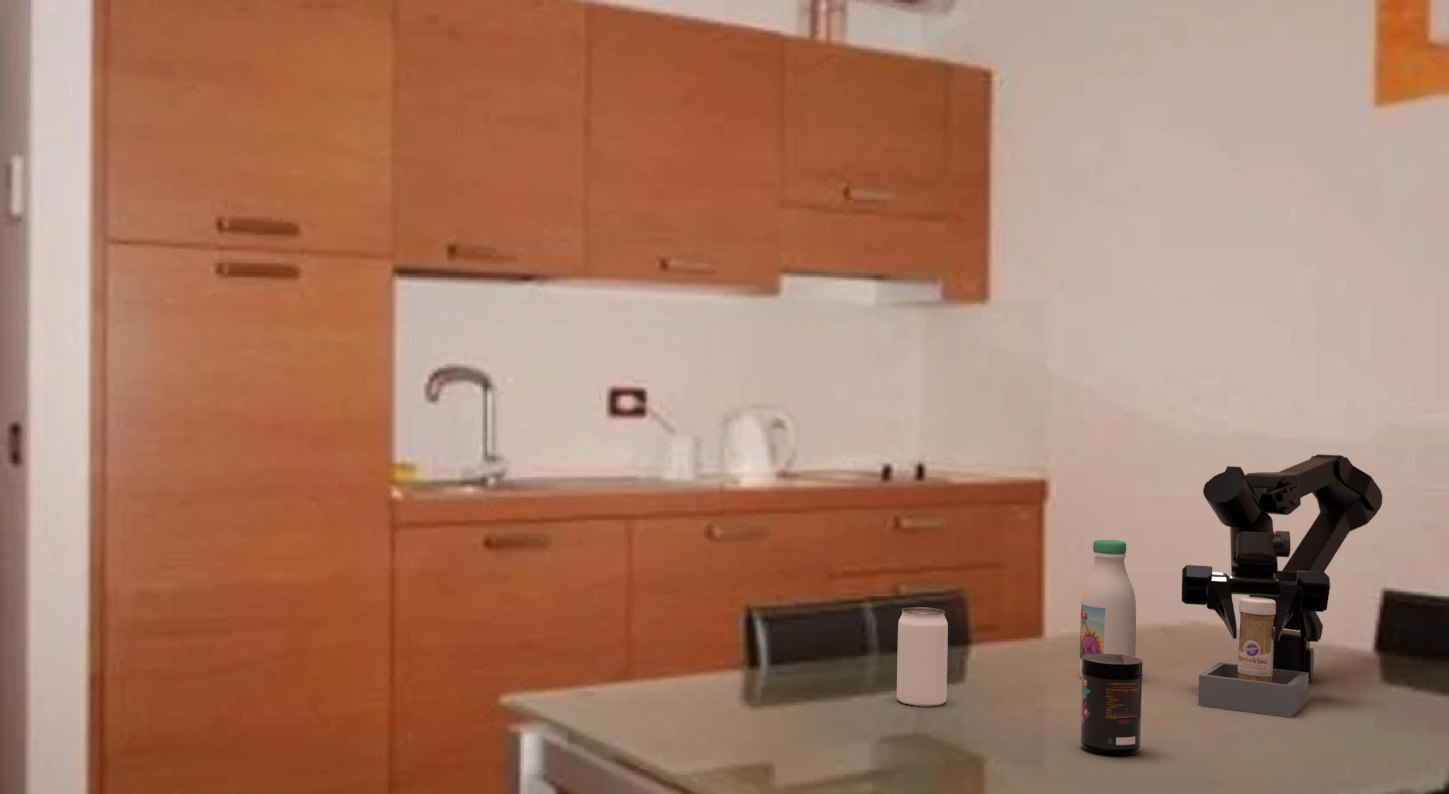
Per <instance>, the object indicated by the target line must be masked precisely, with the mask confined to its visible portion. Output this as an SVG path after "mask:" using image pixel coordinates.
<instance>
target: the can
mask: <svg viewBox="0 0 1449 794" xmlns="http://www.w3.org/2000/svg"><path fill="white" fill-rule="evenodd" d="M945 613H946V612H945V610H943V609H939V608H934V607H916V606H915V607H905V608H902V609H901V615H900V617H899V619H898V623H897V624H898V626H897V657H896V658H897V659H896V660H897V663H896V665H897V666H896V670H897V671H896V699H897V700H898V702H899V701H900V702H901V704H903V705H906V704H908V705H907V706H910V705H913V706H912V707H919V706H920V707H921V708H924V707H925V708H931V707H932V708H933V707H934V708H935V707H939V706H943V705H944V703H945V702H947V687H948V638H949V637H948V635H949V631H948V630H949V628H948V626H949V625H948V624H949V623H948V621H947V618H946V616H945ZM900 702H899V703H900Z"/></svg>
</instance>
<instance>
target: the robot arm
mask: <svg viewBox="0 0 1449 794" xmlns="http://www.w3.org/2000/svg"><path fill="white" fill-rule="evenodd" d="M1202 493H1203V497H1204V498H1205V500H1206V501H1207V503H1208V504H1209V506H1210V507H1211V508H1212V510H1213V512H1214V514H1215V515H1216V517H1217V518H1218V520H1219V521H1220V522H1221V524H1222V525H1224V526H1225V527H1229V533H1230V535H1229V536H1230V537H1229V540H1230V571H1231V572H1230V573H1231V575H1228V574H1227V573H1225V572H1216V571H1215V572H1214V571H1213V566H1212V565H1199V564H1198V565H1196V564H1195V565H1193V564H1186V565H1185V566H1184V567H1182V568H1181V569H1182V571H1181V602H1182V603H1184V604H1185V605H1198V606H1206V609H1208V610H1212V611H1215V613H1216V614H1217V615H1218V617H1219V618H1221V620H1222V621H1223V624H1225V627H1226V628H1227V630H1228V632H1229V634H1230V635H1231V637H1232V639H1234V640H1237V638H1238V637H1237V636H1238V635H1237V634H1238V632H1237V629H1238V628H1237V626H1238V625H1237V620H1236V614H1235V608H1234V607H1235V606H1234V602H1233V596H1232V595H1244V596H1248V597H1260V598H1267V599H1272V600H1274V601H1275V602H1276V614H1274V616H1275V617H1274V631H1273V637H1274V646H1273V669H1281V670H1290V671H1299V672H1307V673H1309V681H1310V680H1311V679H1312V678H1313V677H1314V673H1315V671H1314V670H1315V669H1314V668H1315V667H1314V666H1315V664H1314V663H1315V649H1314V648H1313V647H1311V643H1312V642H1313V643H1315V642H1316V643H1317V642H1319V641H1320V640H1322V639H1321V638H1322V634H1323V628H1324V626H1323V625H1324V624H1323V623H1322V621H1321V619H1320V617H1319V615H1318V612H1319V613H1323V612H1325V611H1327V609H1328V603H1329V599H1330V598H1329V596H1330V591H1331V581H1330V576H1329V575H1328V574H1327V573H1326V572H1325V571H1326V570H1327V568H1328V566H1329V565H1330V563H1331V562H1332V560H1333V558H1334V557H1335V555H1336V554H1337V553H1338V550H1339V549H1340V547H1341V546H1342V544H1343V543H1344V541H1345V539H1347V537H1348V535H1349V533H1350V532H1353V531H1354V530H1357V529H1360V528H1361V527H1364V526H1366V525H1368V524H1369V523H1370V521H1371V520H1372V519H1373V518H1374V517H1375V516H1376V515H1377V513H1378V512H1379V511H1380V509H1381V507H1382V505H1383V493H1382V490H1381V489H1380V487H1379V485H1378V484H1377V483H1376V482H1375V480H1374V478H1373V477H1372V476H1371V475H1370V474H1368V473H1366V472H1364V471H1363V470H1361V468H1360V469H1359V468H1358V467H1356V466H1354V465H1353V464H1352V462H1351V461H1350V459H1349V458H1348V457H1346V456H1343V455H1342V454H1341V455H1340V454H1321V453H1319V454H1315V455H1312V456H1311V457H1310V458H1309V459H1307V460H1303V462H1300V463H1297V464H1295V465H1292V466H1290V467H1287V468H1284V469H1283V470H1279V471H1274V472H1273V471H1272V472H1271V471H1269V472H1268V471H1266V472H1264V471H1263V472H1260V471H1259V472H1248V473H1246V474H1245V471H1244V470H1243V469H1242V467H1241V466H1229V465H1228V466H1226V469H1225V470H1224V471H1223V472H1220V473H1218V474H1216V475H1214V476H1212V477H1211V478H1210V479H1209V480H1208V481H1206V482H1205V484H1204V485H1203V489H1202ZM1310 494H1312V495H1313V496H1314V497H1315V498H1316V502H1317V505H1318V509H1319V513H1318V515H1317V516H1316V518H1315V520H1314V521H1313V523H1312V524H1311V525H1310V527H1309V529H1308V530H1307V531H1306V534H1305V535H1304V536H1303V538H1302V540H1301V541H1300V543H1299V544H1298V546H1297V547H1296V549H1295V550H1294V552H1293V553H1292V555H1291V556H1290V554H1291V533H1290V531H1288V530H1275V531H1274V522H1273V518H1272V516H1271V515H1280V516H1289V515H1291V514H1293V512H1294V511H1295V510H1297V509H1298V508H1299V507H1300V506H1301V505H1302V504H1301V503H1302V502H1301V499H1302V498H1303V497H1305V496H1307V495H1310ZM1278 557H1279V558H1289V557H1290V558H1289V559H1288V561H1287V562H1286V563H1285V565H1284V567H1283V568H1282V570H1279V569H1278V568H1279V567H1278V566H1279V565H1278V564H1279V563H1278Z"/></svg>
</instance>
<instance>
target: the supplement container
mask: <svg viewBox="0 0 1449 794" xmlns="http://www.w3.org/2000/svg"><path fill="white" fill-rule="evenodd" d="M1081 668H1082V669H1081V672H1082V678H1081V683H1080V685H1081V688H1080V689H1081V690H1080V693H1081V694H1080V738H1079V741H1080V745H1081V747H1082V749H1084V750H1085V751H1087V752H1089V753H1092V754H1095V755H1100V756H1105V757H1106V756H1108V757H1131V756H1134V755H1136V754H1137V753H1138V752H1139V751H1140V749H1141V740H1142V737H1141V735H1142V734H1141V733H1142V731H1141V730H1142V697H1143V696H1142V692H1143V691H1142V689H1143V688H1142V687H1143V660H1142V659H1141V658H1139V657H1136V656H1135V657H1132V656H1126V655H1118V654H1087V655H1083V656H1082V665H1081Z"/></svg>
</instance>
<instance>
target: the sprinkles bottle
mask: <svg viewBox="0 0 1449 794" xmlns="http://www.w3.org/2000/svg"><path fill="white" fill-rule="evenodd" d="M1238 602H1239V603H1238V604H1239V605H1238V611H1239V615H1240V616H1239V617H1240V619H1239V621H1240V622H1239V634H1238V635H1239V637H1238V639H1239V641H1238V651H1237V652H1238V653H1237V664H1238V679H1244V680H1252V681H1261V682H1269V683H1272V675H1273V646H1274V637H1273V631H1274V628H1275V627H1274V617H1275V616H1274V614H1276V602H1275V601H1274V600H1272V599H1267V598H1260V597H1249V596H1242V597H1240V598H1239V601H1238Z"/></svg>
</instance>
